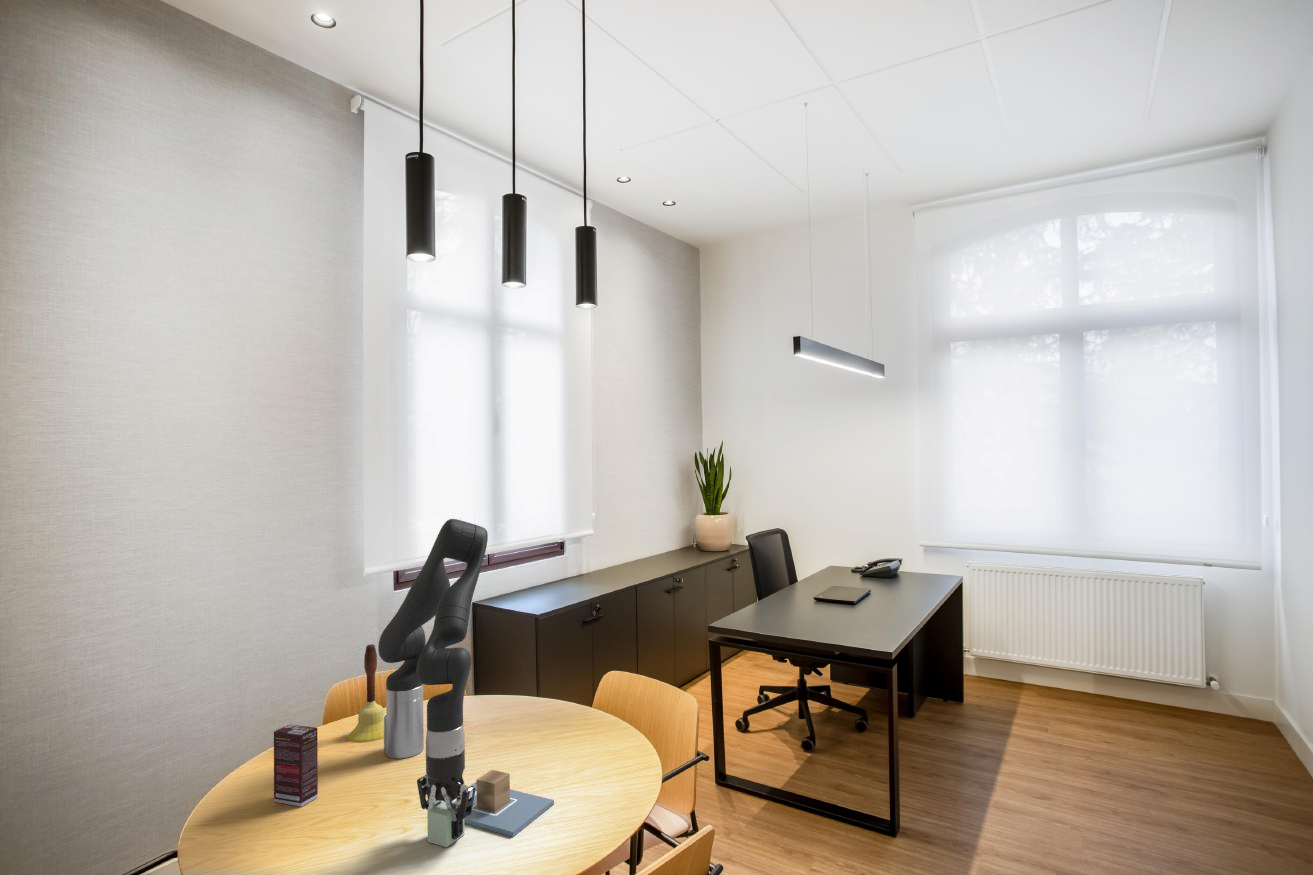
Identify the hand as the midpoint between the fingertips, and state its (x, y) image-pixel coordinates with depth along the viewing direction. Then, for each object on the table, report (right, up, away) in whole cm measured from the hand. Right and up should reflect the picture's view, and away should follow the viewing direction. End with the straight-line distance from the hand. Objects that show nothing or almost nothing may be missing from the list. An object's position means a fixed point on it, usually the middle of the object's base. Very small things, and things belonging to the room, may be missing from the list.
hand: (446, 833), depth 133 cm
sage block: (0, -1, 0) cm, 1 cm away
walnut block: (+7, 0, +11) cm, 13 cm away
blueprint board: (+7, -1, +11) cm, 13 cm away
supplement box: (-40, -3, +18) cm, 44 cm away
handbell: (-39, -5, +55) cm, 68 cm away
